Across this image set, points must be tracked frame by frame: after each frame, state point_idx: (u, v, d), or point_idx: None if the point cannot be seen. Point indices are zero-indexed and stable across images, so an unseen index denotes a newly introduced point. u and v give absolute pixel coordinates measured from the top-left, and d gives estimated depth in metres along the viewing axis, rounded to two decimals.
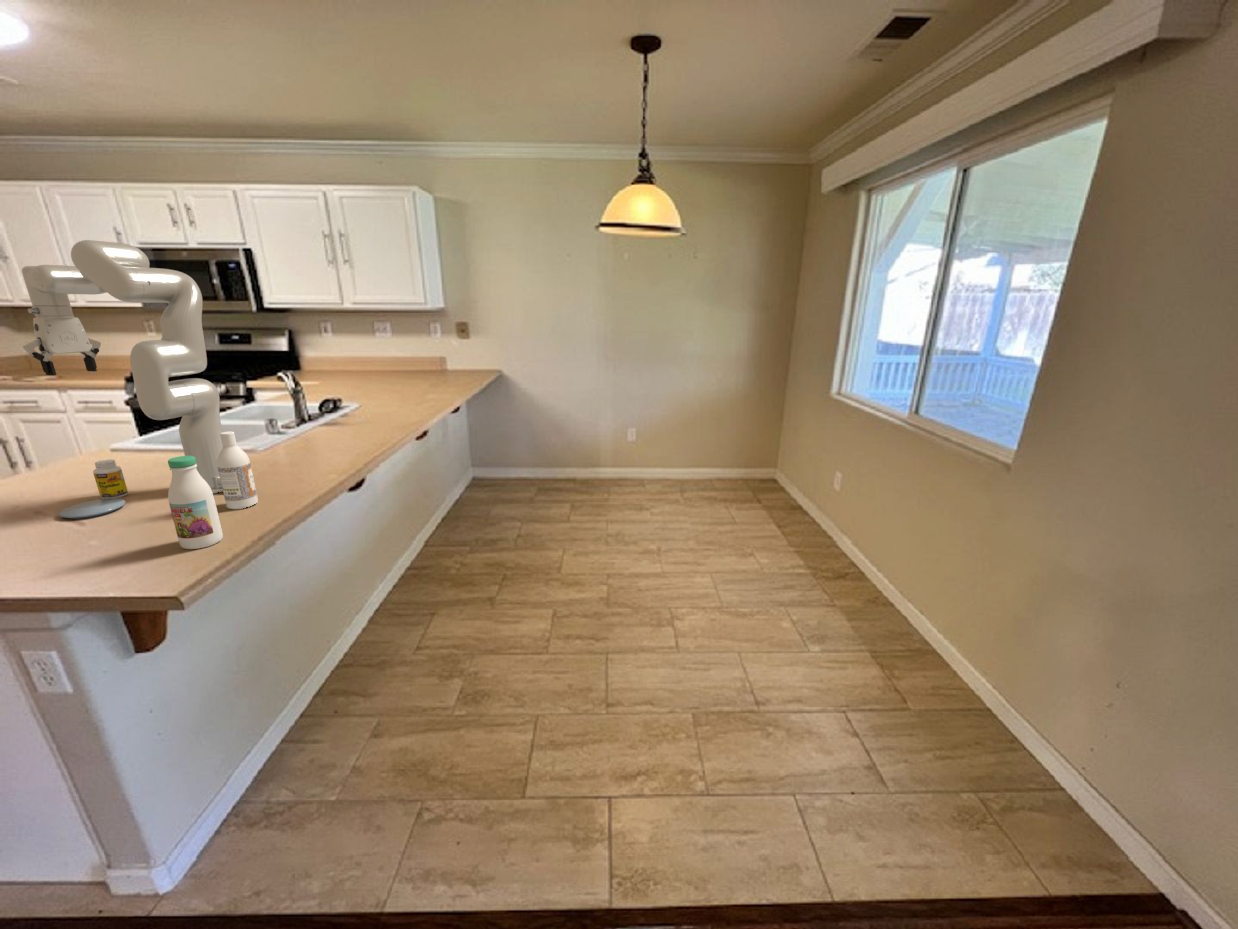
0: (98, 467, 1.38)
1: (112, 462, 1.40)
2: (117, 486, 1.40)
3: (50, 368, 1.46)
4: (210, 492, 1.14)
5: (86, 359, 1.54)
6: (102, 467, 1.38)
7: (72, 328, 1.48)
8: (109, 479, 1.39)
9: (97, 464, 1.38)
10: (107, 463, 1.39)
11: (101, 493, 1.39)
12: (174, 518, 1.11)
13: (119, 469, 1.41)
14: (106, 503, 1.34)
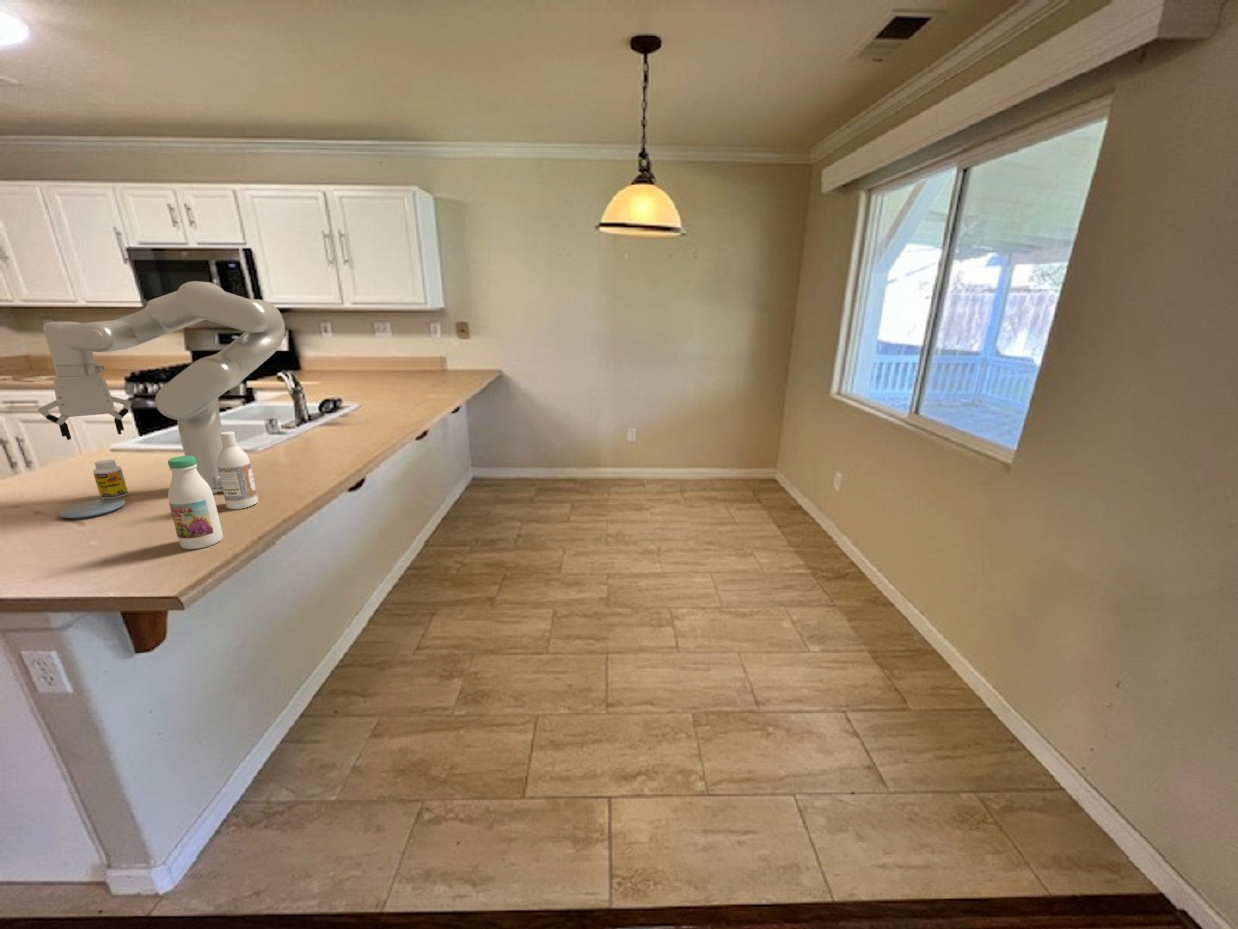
0: (98, 467, 1.38)
1: (112, 462, 1.40)
2: (117, 486, 1.40)
3: None
4: (210, 492, 1.14)
5: (67, 425, 1.33)
6: (102, 467, 1.38)
7: None
8: (109, 479, 1.39)
9: (97, 464, 1.38)
10: (107, 463, 1.39)
11: (101, 493, 1.39)
12: (174, 518, 1.11)
13: (119, 469, 1.41)
14: (106, 503, 1.34)
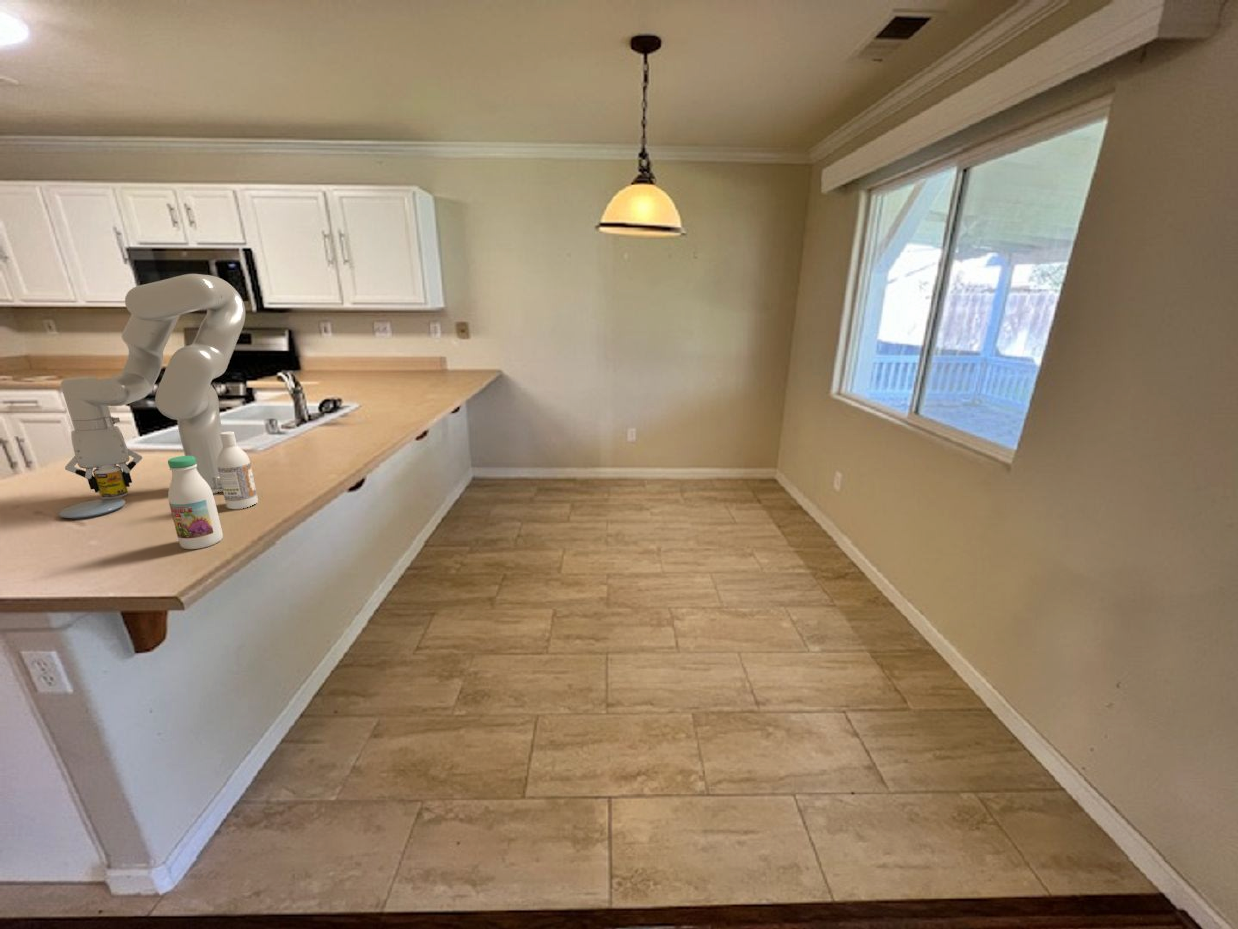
0: (98, 467, 1.38)
1: None
2: (117, 486, 1.40)
3: None
4: (210, 492, 1.14)
5: None
6: (102, 467, 1.38)
7: None
8: (109, 479, 1.39)
9: None
10: None
11: (101, 493, 1.39)
12: (174, 518, 1.11)
13: (119, 469, 1.41)
14: (106, 503, 1.34)
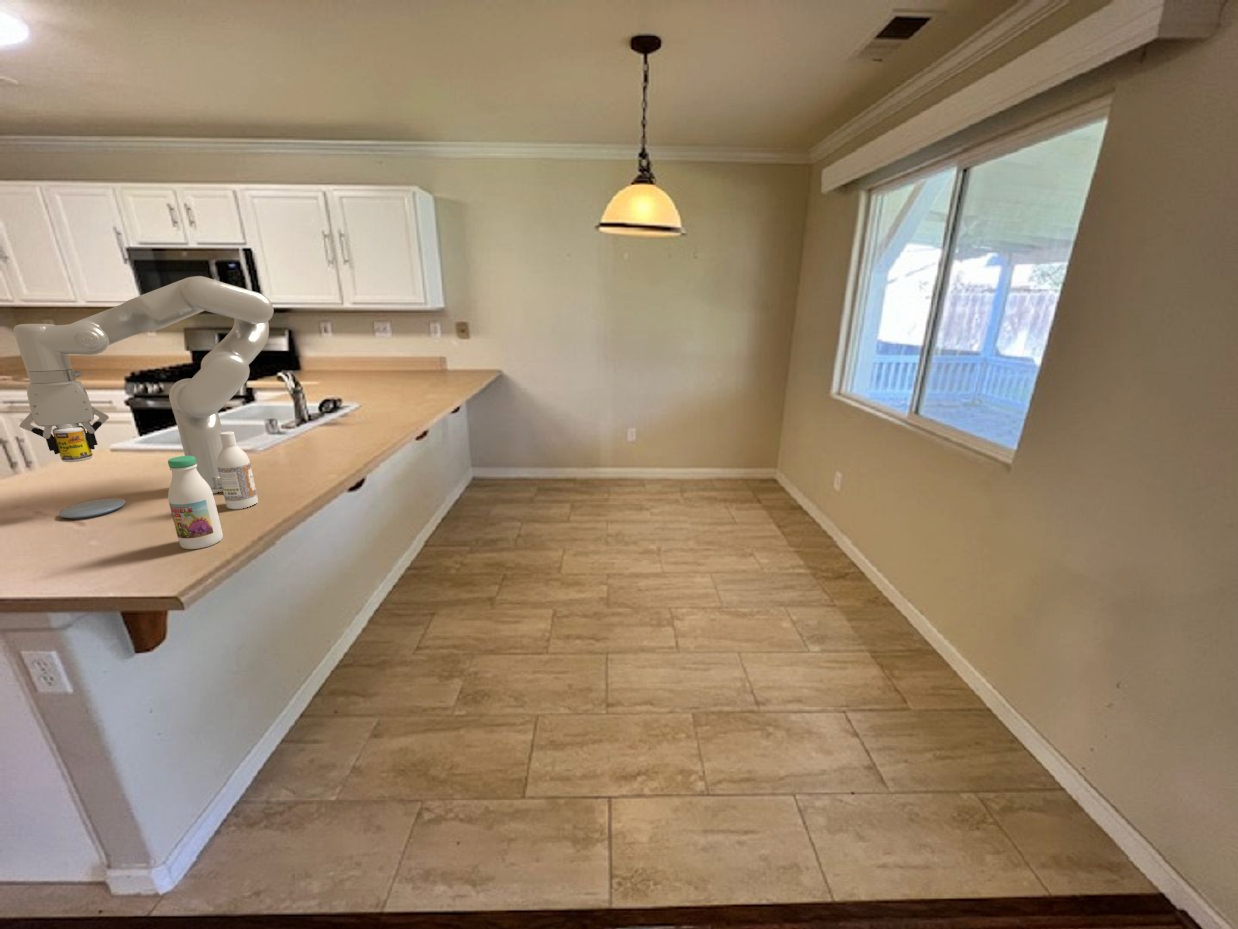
0: (58, 426, 1.24)
1: None
2: (80, 448, 1.26)
3: None
4: (210, 492, 1.14)
5: (54, 439, 1.24)
6: (63, 426, 1.24)
7: None
8: (71, 439, 1.25)
9: None
10: None
11: (61, 455, 1.25)
12: (174, 518, 1.11)
13: (82, 429, 1.27)
14: (106, 503, 1.34)
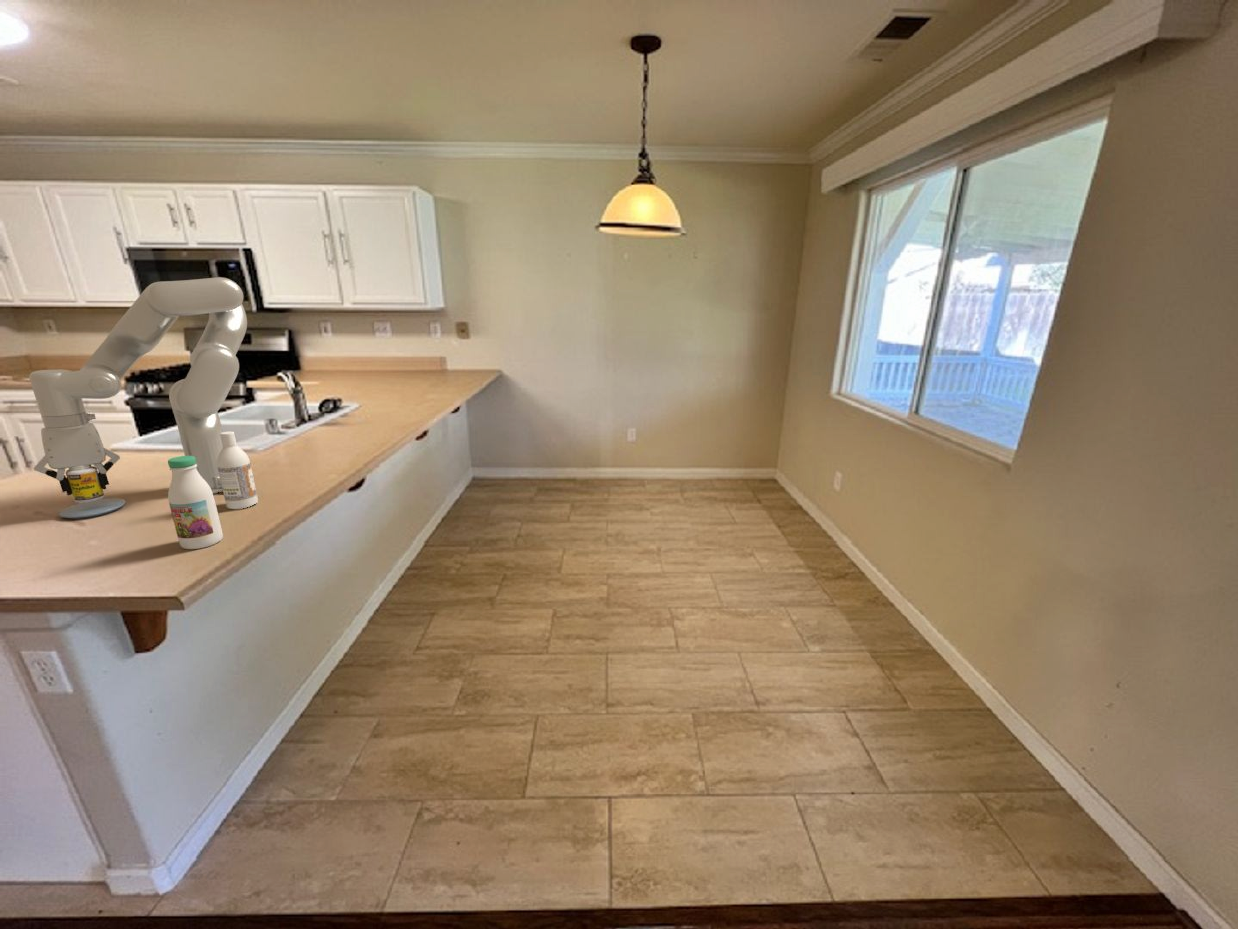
0: None
1: None
2: (92, 489, 1.29)
3: None
4: (210, 492, 1.14)
5: (67, 480, 1.28)
6: (76, 467, 1.27)
7: None
8: (83, 481, 1.28)
9: None
10: None
11: (74, 496, 1.28)
12: (174, 518, 1.11)
13: (94, 470, 1.30)
14: (106, 503, 1.34)
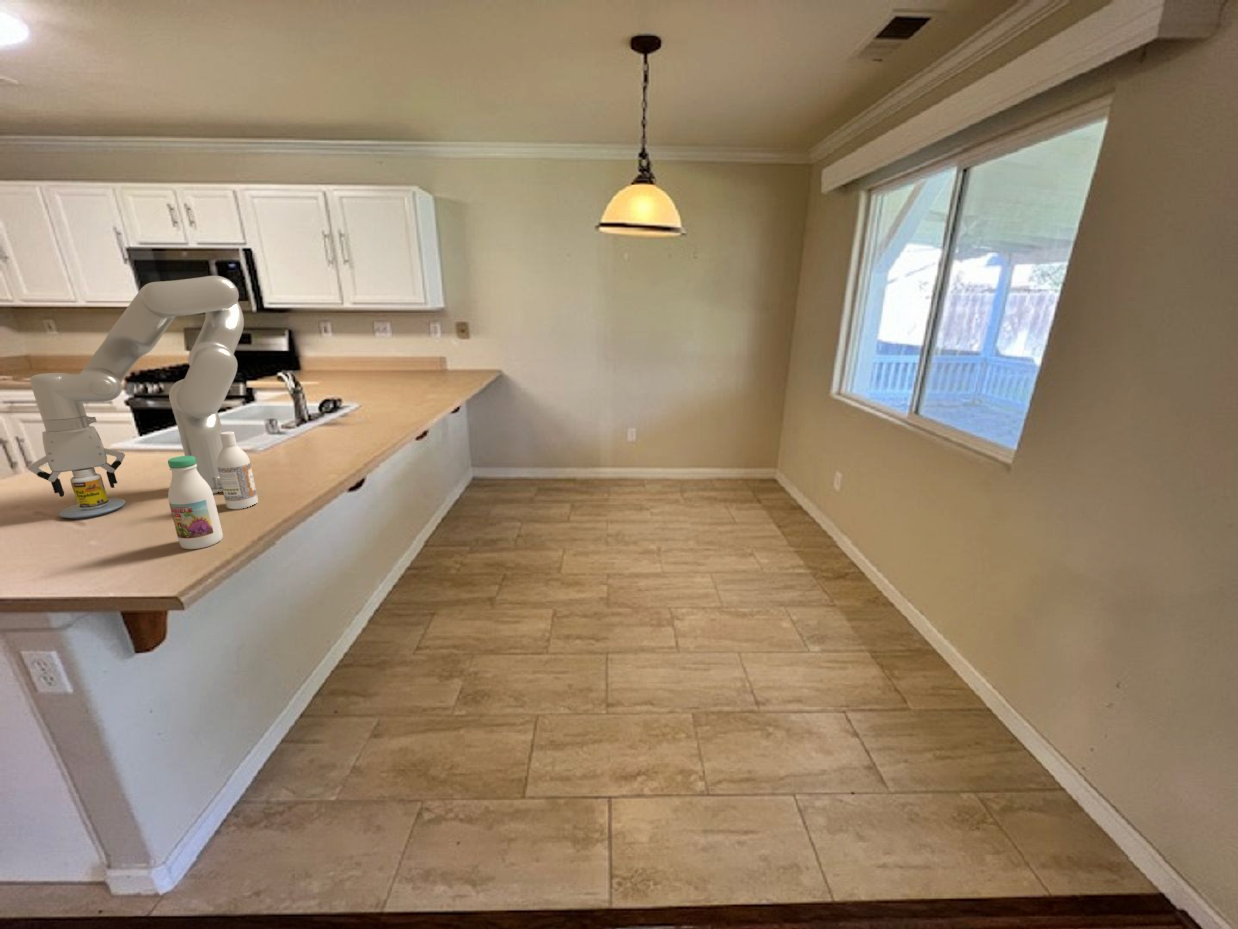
0: (75, 475, 1.28)
1: (91, 470, 1.29)
2: (96, 496, 1.30)
3: None
4: (210, 492, 1.14)
5: (59, 481, 1.27)
6: (80, 475, 1.28)
7: None
8: (88, 488, 1.29)
9: (74, 472, 1.27)
10: (86, 471, 1.28)
11: (79, 503, 1.29)
12: (174, 518, 1.11)
13: (99, 477, 1.31)
14: None
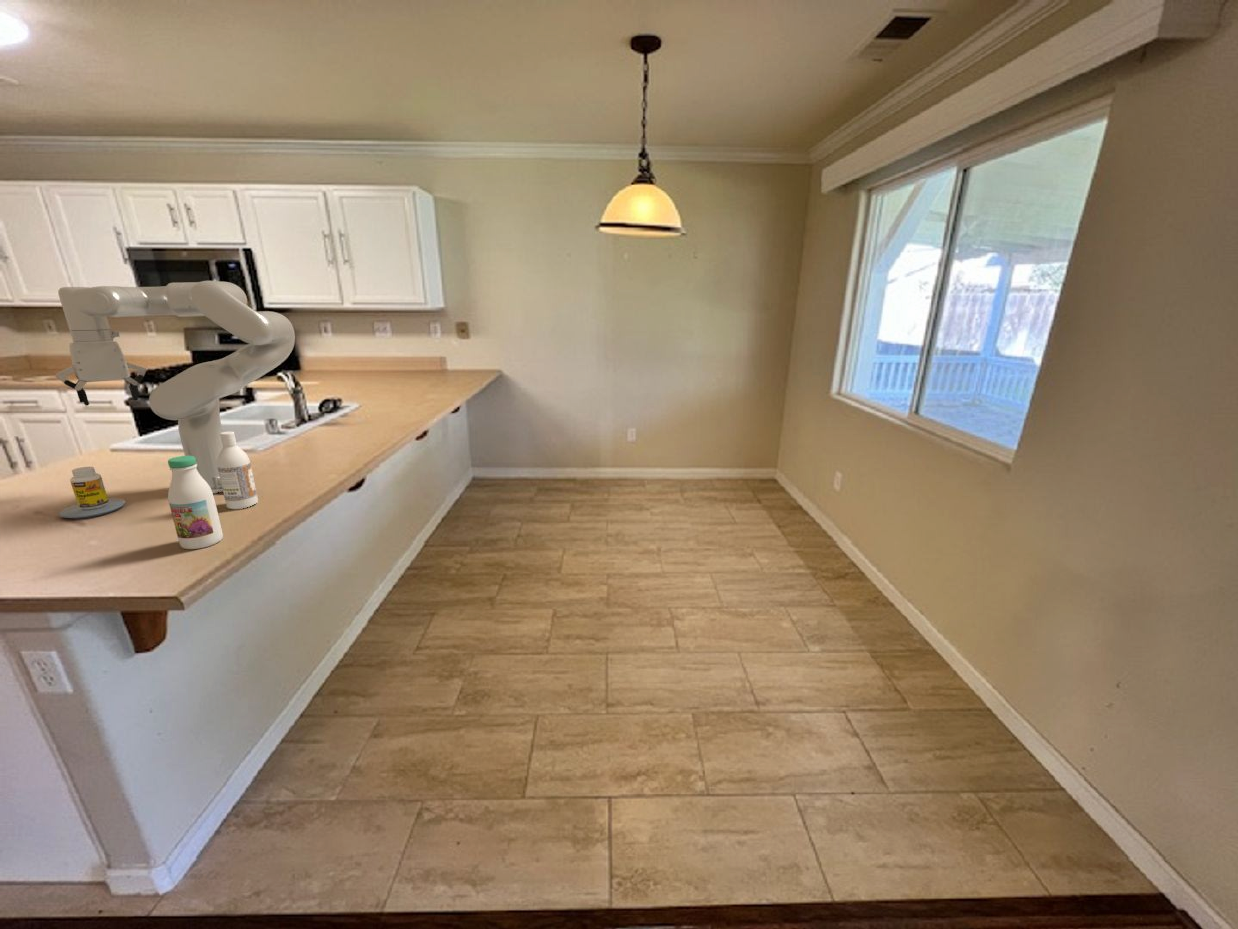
0: (75, 475, 1.28)
1: (91, 469, 1.29)
2: (96, 496, 1.30)
3: None
4: (210, 492, 1.14)
5: (84, 391, 1.34)
6: (80, 475, 1.28)
7: None
8: (88, 488, 1.29)
9: (74, 472, 1.28)
10: (86, 471, 1.28)
11: (79, 503, 1.29)
12: (174, 518, 1.11)
13: (99, 477, 1.31)
14: None
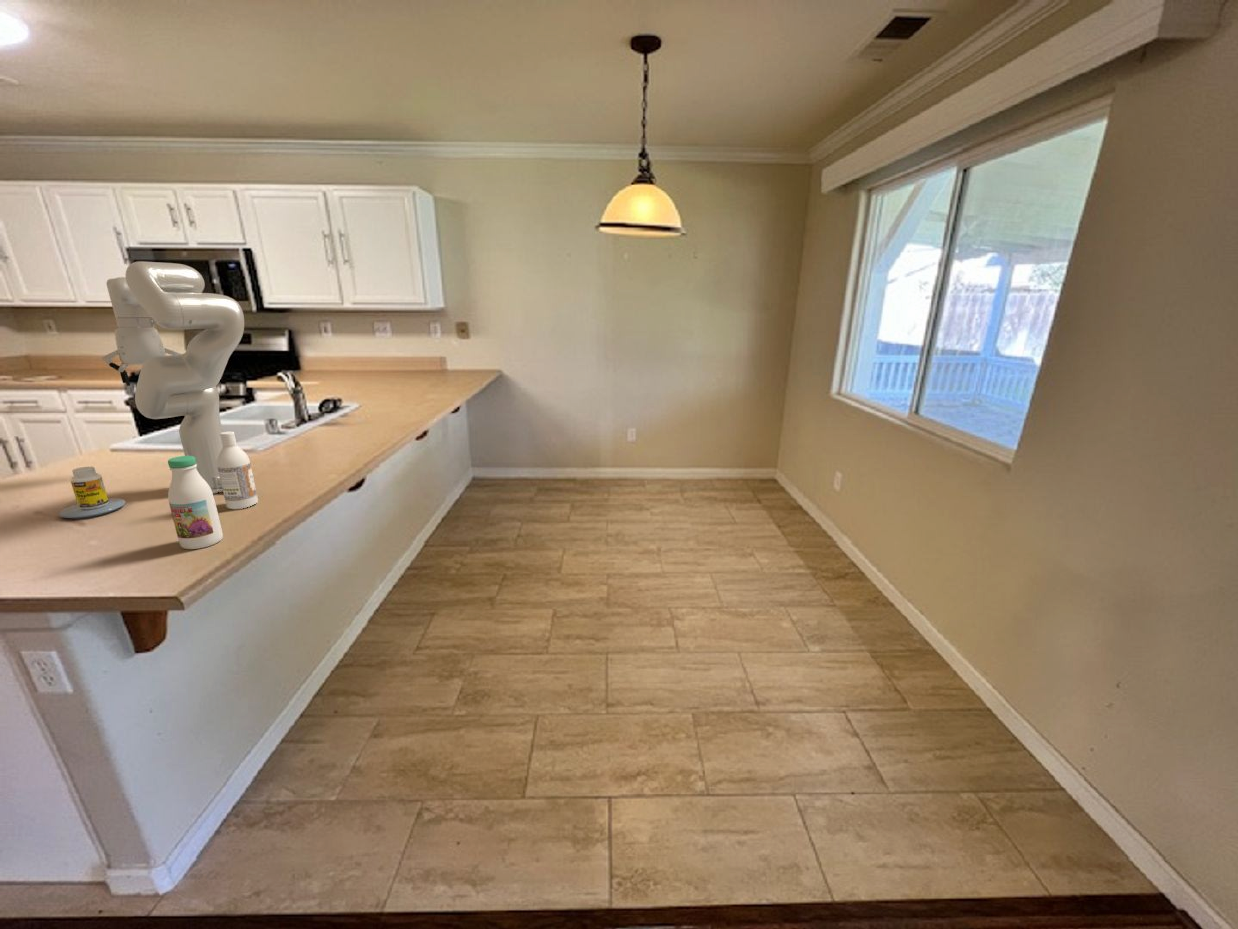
0: (76, 475, 1.28)
1: (91, 469, 1.29)
2: (96, 496, 1.30)
3: None
4: (210, 492, 1.14)
5: None
6: (81, 475, 1.28)
7: None
8: (88, 488, 1.29)
9: (75, 472, 1.28)
10: (86, 471, 1.28)
11: (79, 503, 1.29)
12: (174, 518, 1.11)
13: (99, 477, 1.31)
14: None
